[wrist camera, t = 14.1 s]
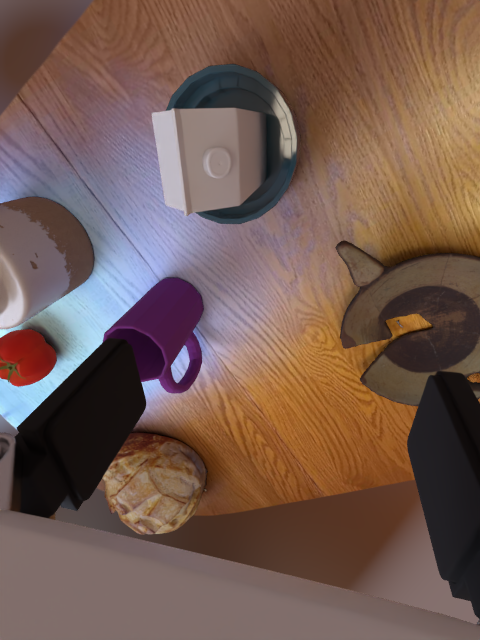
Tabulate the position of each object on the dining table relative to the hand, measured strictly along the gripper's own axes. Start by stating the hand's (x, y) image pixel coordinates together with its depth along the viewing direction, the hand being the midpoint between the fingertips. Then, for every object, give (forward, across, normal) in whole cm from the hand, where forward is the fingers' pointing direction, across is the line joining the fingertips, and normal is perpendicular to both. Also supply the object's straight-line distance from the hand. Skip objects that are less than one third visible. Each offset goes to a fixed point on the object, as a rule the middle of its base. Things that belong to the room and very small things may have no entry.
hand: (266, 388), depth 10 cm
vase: (+36, +41, +8) cm, 55 cm away
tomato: (+36, +52, +29) cm, 70 cm away
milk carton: (+36, +9, -5) cm, 37 cm away
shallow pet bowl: (+36, +9, -5) cm, 38 cm away
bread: (+36, +31, +63) cm, 79 cm away
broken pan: (+36, -16, +15) cm, 43 cm away
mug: (+36, +19, +20) cm, 46 cm away
